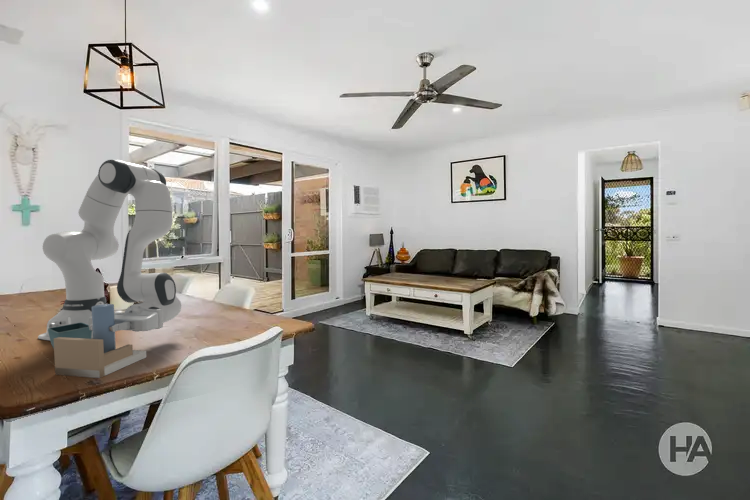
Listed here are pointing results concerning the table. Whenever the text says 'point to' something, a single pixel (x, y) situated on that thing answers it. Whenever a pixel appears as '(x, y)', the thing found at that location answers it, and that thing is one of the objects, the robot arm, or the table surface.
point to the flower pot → (70, 331)
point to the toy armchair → (91, 357)
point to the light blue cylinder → (104, 325)
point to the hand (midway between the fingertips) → (101, 328)
